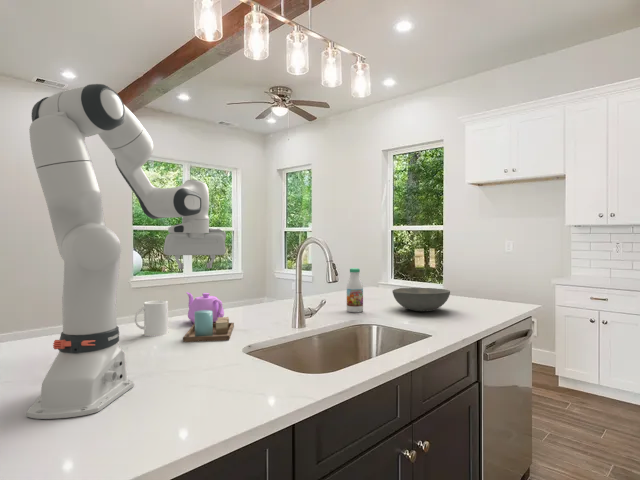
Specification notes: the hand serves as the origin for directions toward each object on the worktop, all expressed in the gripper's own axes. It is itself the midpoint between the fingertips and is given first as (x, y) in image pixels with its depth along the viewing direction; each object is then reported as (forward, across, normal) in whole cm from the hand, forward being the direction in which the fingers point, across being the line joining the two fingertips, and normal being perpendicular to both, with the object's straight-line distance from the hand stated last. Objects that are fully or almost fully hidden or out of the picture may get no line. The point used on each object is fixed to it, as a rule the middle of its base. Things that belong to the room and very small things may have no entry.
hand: (195, 268), depth 137 cm
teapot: (+25, -8, -25) cm, 36 cm away
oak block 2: (+24, -10, -4) cm, 26 cm away
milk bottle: (+23, -75, -17) cm, 81 cm away
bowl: (+23, -104, -4) cm, 106 cm away
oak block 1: (+24, -12, -9) cm, 28 cm away
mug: (+25, +13, -14) cm, 31 cm away
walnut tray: (+24, -6, -4) cm, 26 cm away
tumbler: (+24, -3, 0) cm, 24 cm away
